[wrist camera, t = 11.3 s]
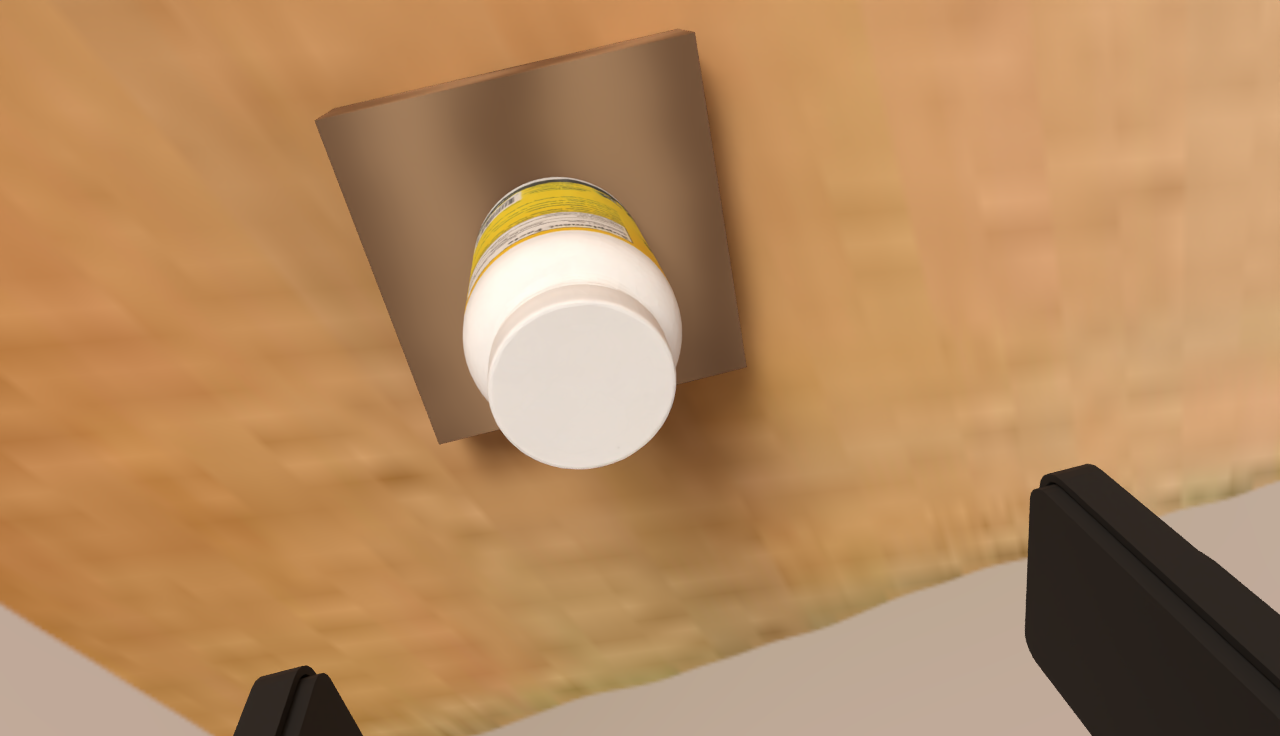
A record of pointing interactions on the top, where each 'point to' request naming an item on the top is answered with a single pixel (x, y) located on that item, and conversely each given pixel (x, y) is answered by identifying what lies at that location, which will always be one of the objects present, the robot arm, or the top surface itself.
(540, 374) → the pill bottle
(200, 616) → the top surface
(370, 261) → the walnut base
